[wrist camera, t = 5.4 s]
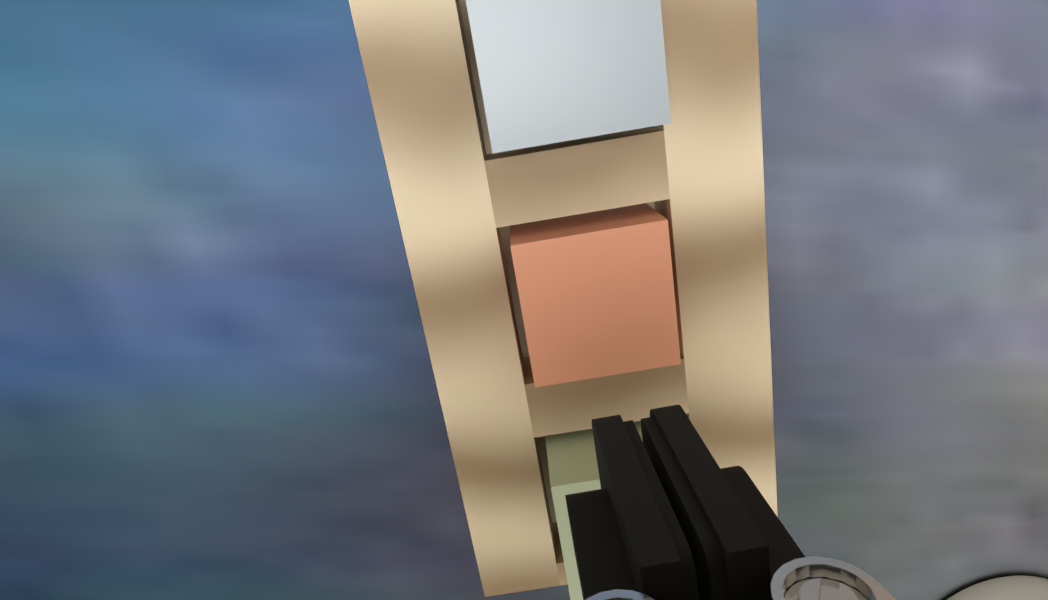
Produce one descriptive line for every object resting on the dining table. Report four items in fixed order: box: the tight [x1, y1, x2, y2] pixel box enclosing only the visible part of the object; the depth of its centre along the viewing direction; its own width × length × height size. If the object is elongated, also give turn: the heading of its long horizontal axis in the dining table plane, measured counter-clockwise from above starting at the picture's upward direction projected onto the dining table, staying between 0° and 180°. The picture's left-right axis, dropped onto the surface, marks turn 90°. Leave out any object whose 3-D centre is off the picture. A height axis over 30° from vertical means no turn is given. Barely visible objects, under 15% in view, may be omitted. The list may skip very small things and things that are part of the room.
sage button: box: [545, 421, 643, 600], centre depth 23 cm, size 5×5×4 cm
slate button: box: [466, 0, 671, 154], centre depth 18 cm, size 5×5×4 cm
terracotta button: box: [510, 203, 681, 387], centre depth 22 cm, size 5×5×4 cm
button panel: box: [349, 0, 778, 597], centre depth 23 cm, size 24×12×4 cm, turn 9°
